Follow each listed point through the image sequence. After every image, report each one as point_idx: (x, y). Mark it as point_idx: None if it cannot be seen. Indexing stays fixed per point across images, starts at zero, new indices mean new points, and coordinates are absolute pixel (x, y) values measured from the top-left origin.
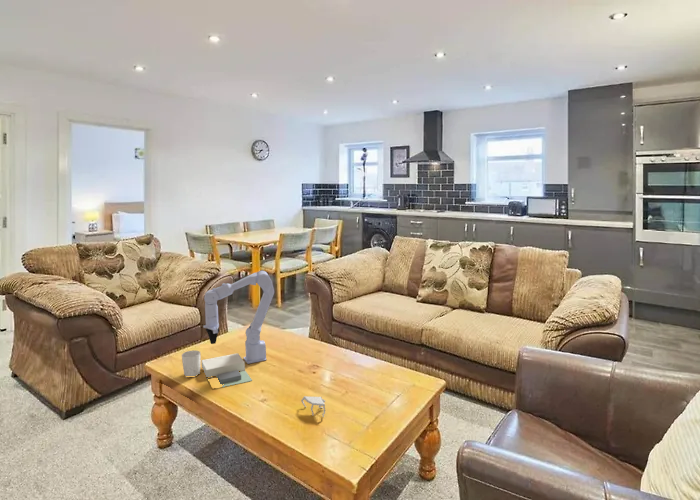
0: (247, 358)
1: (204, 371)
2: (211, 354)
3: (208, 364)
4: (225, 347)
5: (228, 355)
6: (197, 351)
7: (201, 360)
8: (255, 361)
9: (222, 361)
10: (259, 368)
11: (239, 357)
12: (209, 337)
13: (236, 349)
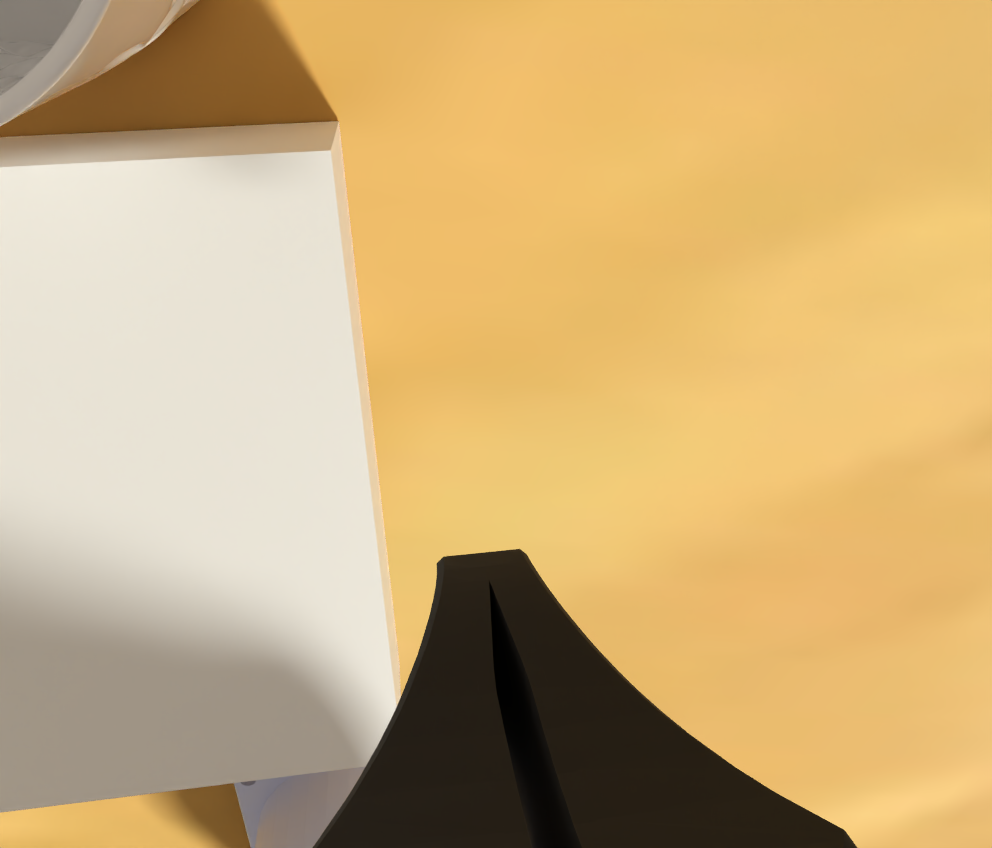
0: (306, 796)
1: (16, 144)
2: (868, 355)
3: (2, 271)
4: (986, 563)
5: (363, 642)
6: (33, 71)
7: (329, 149)
8: (248, 835)
9: (100, 535)
10: (41, 842)
11: (200, 771)
12: (468, 691)
13: (816, 674)
